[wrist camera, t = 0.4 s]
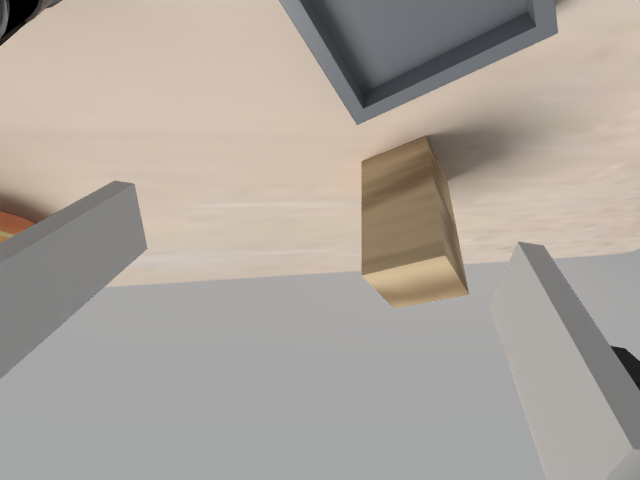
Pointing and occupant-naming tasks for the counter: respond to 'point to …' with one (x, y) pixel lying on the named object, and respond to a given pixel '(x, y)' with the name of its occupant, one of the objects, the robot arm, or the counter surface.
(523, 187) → the counter surface
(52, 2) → the french press
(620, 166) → the counter surface
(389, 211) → the oak block
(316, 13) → the slate tray
